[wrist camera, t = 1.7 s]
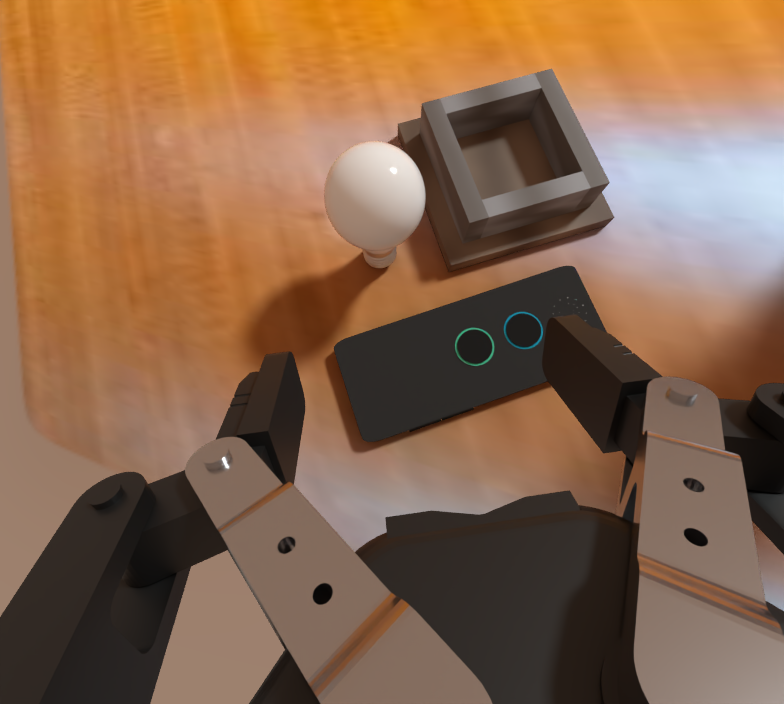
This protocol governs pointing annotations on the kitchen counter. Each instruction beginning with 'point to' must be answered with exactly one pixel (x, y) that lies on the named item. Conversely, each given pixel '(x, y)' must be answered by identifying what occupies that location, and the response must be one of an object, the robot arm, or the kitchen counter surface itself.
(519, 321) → the smart home device
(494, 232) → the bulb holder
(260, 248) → the kitchen counter surface
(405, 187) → the lightbulb
